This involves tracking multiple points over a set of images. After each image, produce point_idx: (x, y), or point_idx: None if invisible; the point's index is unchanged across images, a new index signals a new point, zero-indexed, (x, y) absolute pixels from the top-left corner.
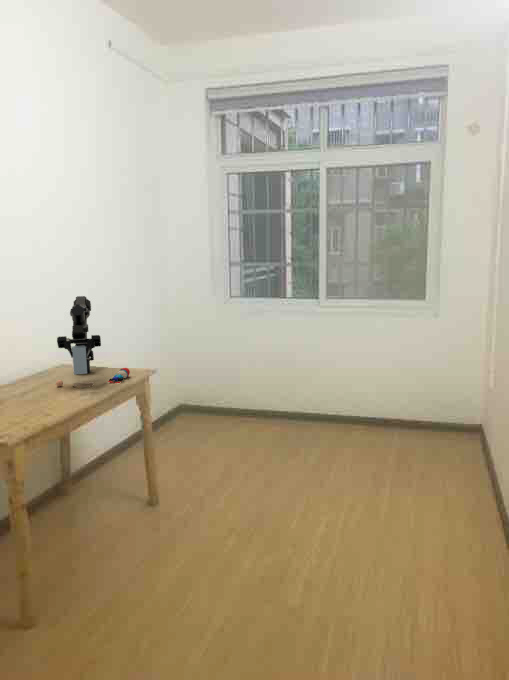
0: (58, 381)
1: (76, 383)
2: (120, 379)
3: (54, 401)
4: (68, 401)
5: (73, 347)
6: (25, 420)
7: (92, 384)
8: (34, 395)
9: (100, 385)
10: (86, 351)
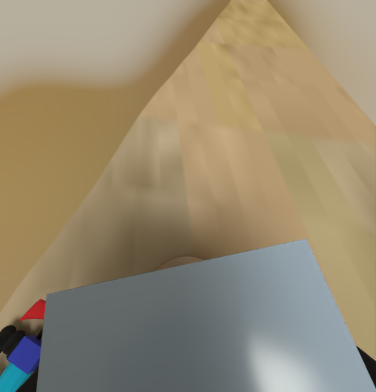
0: None
1: None
2: (14, 332)
3: (241, 117)
4: (205, 113)
5: (313, 317)
6: (258, 30)
7: None
8: (328, 179)
9: None
10: None
